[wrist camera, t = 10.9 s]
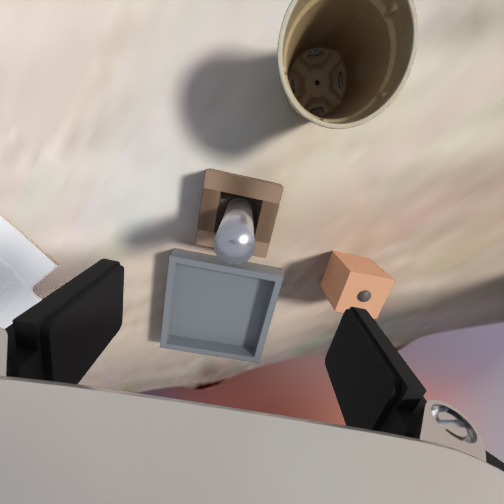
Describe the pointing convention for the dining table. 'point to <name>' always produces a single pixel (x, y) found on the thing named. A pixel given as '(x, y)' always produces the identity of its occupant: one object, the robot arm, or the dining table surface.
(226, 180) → the walnut bore block
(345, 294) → the orange block with knob
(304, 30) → the flower pot
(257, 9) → the dining table surface
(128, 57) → the dining table surface
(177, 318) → the grey square tray
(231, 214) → the steel pin
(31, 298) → the white flat piece
